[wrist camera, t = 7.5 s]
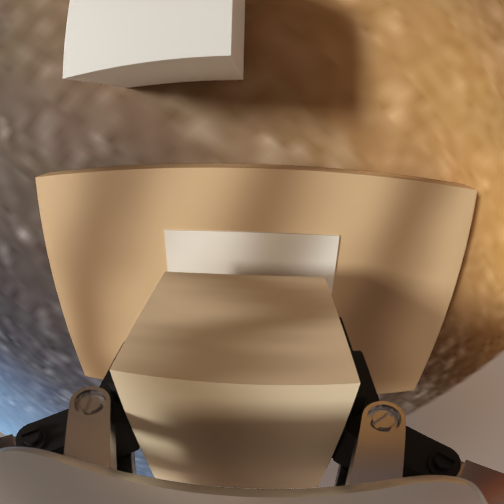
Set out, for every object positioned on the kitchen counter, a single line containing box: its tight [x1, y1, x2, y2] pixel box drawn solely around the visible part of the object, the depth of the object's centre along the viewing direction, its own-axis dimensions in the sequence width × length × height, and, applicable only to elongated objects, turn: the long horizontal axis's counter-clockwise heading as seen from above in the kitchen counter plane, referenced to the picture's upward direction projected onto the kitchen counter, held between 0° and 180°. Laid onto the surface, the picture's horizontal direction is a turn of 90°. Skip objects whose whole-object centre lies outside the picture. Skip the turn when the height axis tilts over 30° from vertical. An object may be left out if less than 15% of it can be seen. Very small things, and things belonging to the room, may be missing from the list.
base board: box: [36, 164, 477, 394], centre depth 14 cm, size 20×12×1 cm, turn 89°
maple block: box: [110, 271, 360, 489], centre depth 10 cm, size 6×6×5 cm
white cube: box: [63, 0, 245, 88], centre depth 8 cm, size 5×5×5 cm
